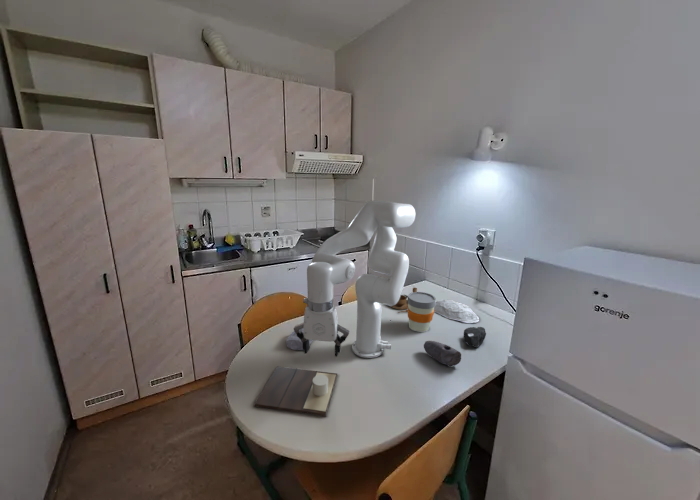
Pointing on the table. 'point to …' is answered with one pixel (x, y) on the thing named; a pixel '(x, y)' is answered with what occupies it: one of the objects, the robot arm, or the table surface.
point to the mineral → (474, 336)
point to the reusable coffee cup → (420, 310)
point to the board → (295, 391)
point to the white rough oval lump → (455, 311)
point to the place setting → (402, 302)
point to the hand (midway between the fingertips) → (321, 352)
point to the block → (295, 341)
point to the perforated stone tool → (442, 353)
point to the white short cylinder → (320, 385)
